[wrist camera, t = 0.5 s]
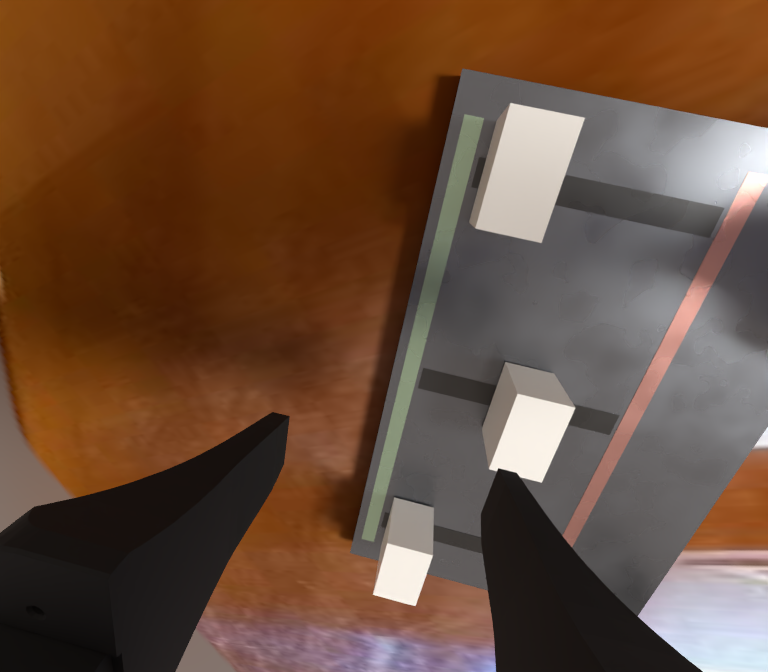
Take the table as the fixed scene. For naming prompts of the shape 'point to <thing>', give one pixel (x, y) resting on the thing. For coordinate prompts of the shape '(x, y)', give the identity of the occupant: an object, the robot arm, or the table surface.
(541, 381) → the breaker mid
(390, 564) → the block
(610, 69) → the table surface
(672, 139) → the panel
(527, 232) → the breaker
